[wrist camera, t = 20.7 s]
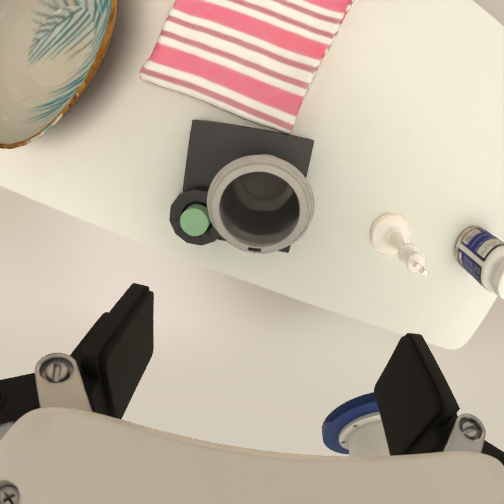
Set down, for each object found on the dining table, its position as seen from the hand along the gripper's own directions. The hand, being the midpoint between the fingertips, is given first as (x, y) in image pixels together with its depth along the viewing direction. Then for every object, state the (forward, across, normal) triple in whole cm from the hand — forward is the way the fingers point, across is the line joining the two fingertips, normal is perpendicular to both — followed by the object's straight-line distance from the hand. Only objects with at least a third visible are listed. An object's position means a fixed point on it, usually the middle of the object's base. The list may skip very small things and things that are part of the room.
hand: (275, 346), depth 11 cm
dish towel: (+24, +6, -20) cm, 31 cm away
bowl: (+24, +30, -16) cm, 41 cm away
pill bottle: (+25, -26, 0) cm, 36 cm away
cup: (+22, +2, -2) cm, 22 cm away
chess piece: (+24, -14, +1) cm, 28 cm away
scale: (+24, +4, -1) cm, 24 cm away
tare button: (+21, +7, +3) cm, 22 cm away
